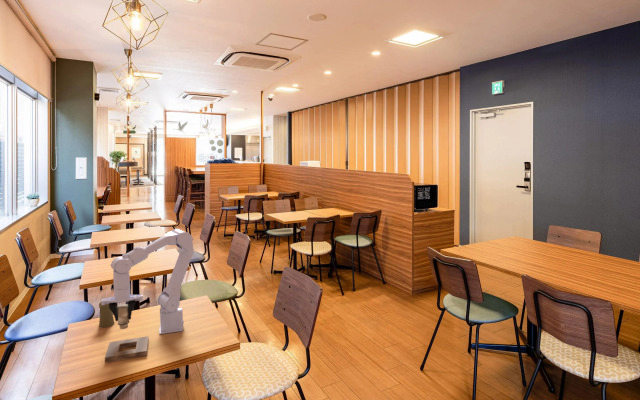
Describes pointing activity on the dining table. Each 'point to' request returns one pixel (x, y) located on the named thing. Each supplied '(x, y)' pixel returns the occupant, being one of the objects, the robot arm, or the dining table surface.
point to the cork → (105, 316)
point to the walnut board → (116, 354)
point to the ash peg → (123, 316)
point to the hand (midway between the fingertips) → (123, 319)
